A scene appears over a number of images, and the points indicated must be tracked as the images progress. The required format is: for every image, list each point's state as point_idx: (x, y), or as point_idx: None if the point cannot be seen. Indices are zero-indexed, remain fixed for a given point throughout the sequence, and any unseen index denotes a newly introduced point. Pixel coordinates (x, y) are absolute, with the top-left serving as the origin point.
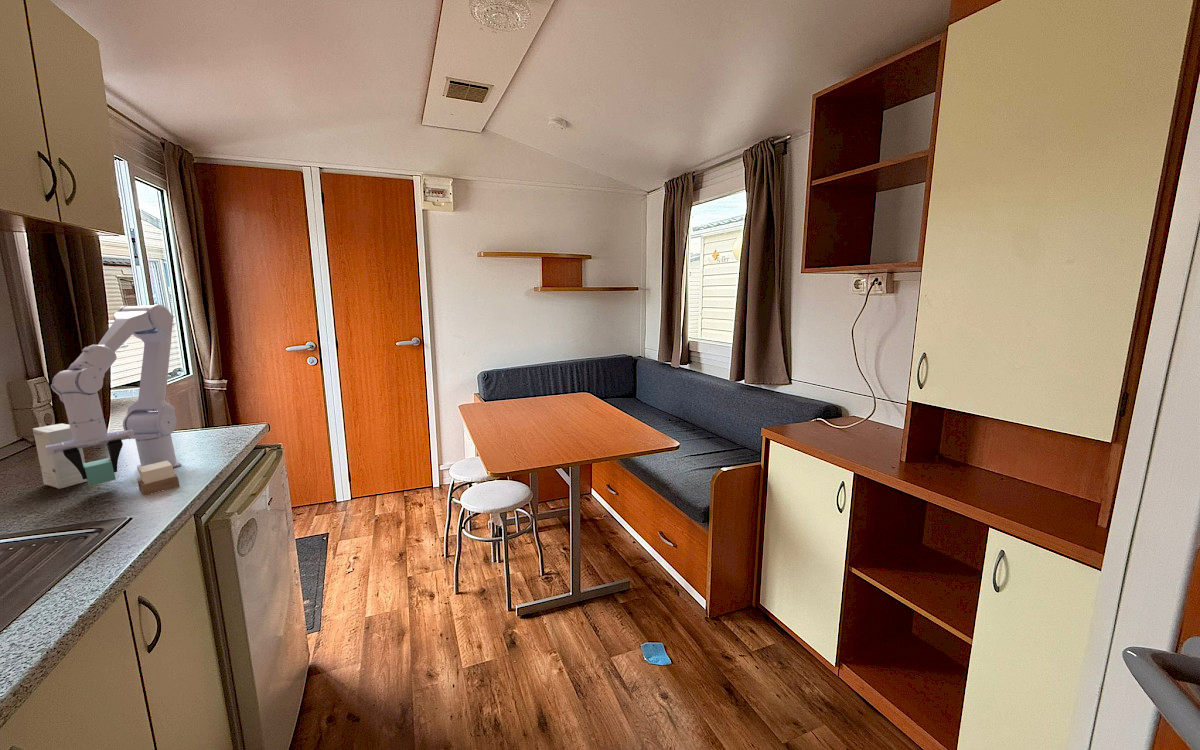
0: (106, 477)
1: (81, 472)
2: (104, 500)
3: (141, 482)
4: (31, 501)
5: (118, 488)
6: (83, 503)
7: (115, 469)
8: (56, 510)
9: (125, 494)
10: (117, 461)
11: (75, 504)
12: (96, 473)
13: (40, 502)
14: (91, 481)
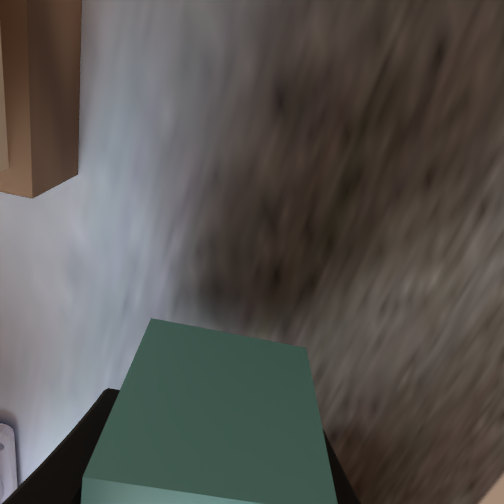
0: (197, 353)
1: (344, 485)
2: (285, 160)
3: (13, 18)
4: (419, 492)
5: None
6: (363, 237)
7: (105, 405)
8: (478, 260)
9: (167, 148)
10: (33, 474)
11: (388, 265)
12: (252, 409)
13: (417, 452)
14: (292, 367)
